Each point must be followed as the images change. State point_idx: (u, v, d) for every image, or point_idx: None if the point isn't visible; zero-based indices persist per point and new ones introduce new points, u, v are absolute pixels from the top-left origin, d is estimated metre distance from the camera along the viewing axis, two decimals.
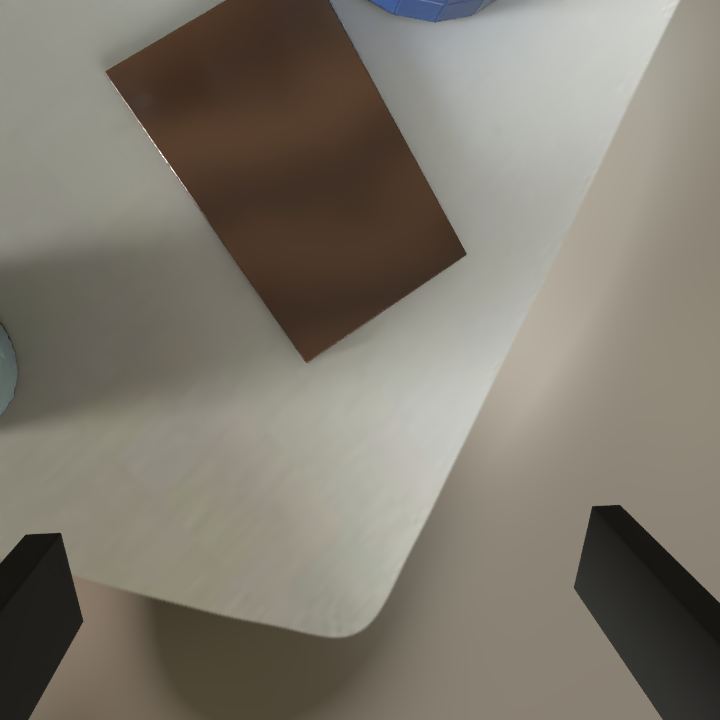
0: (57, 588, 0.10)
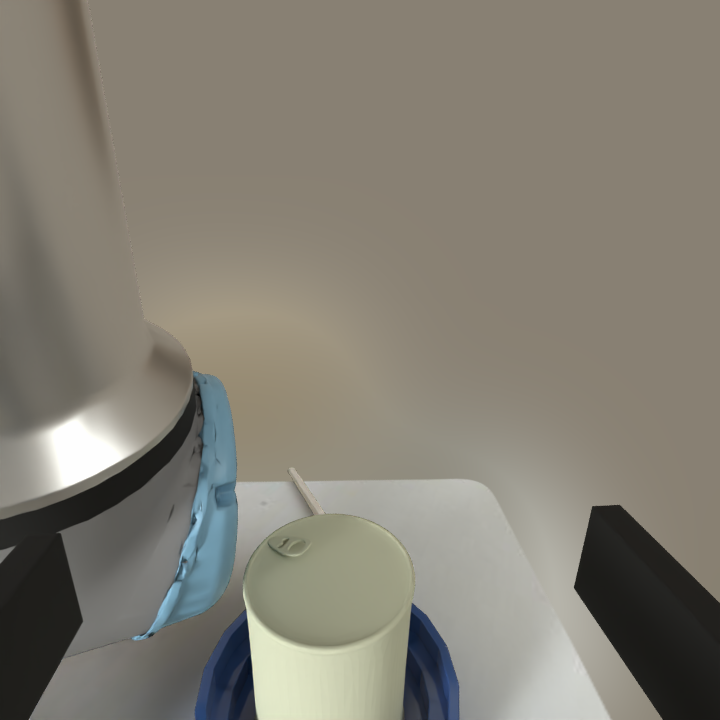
0: (57, 588, 0.10)
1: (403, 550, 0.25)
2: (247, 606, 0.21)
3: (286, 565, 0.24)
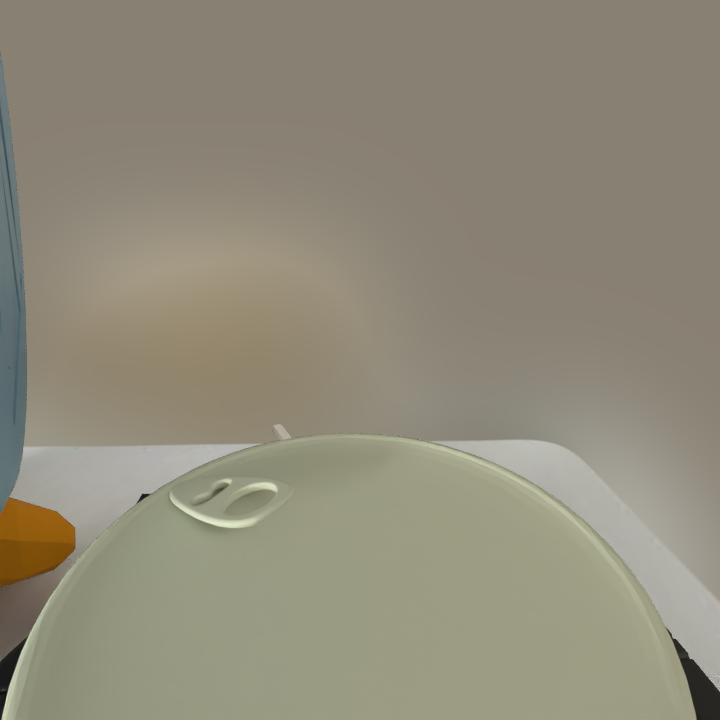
0: None
1: (566, 511, 0.08)
2: None
3: (211, 555, 0.07)
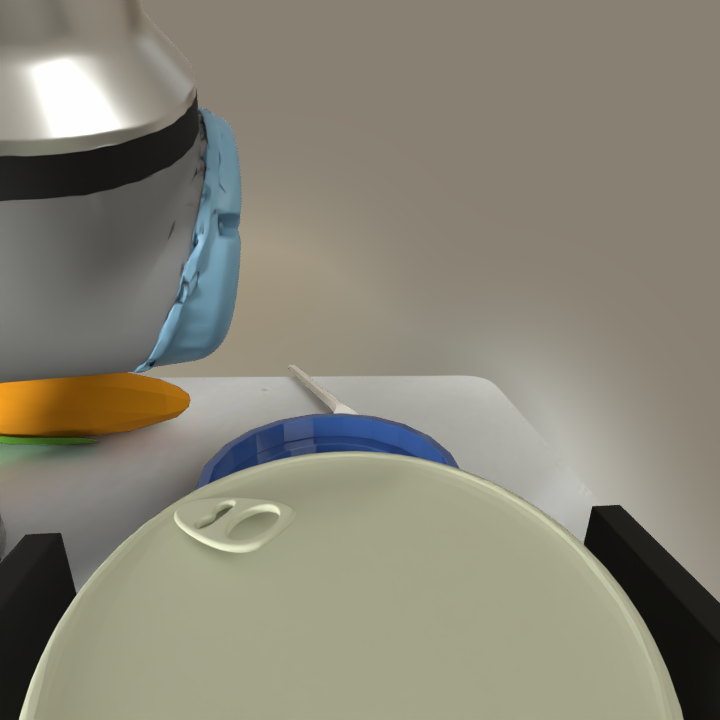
0: (57, 588, 0.10)
1: (564, 533, 0.09)
2: None
3: (215, 580, 0.08)
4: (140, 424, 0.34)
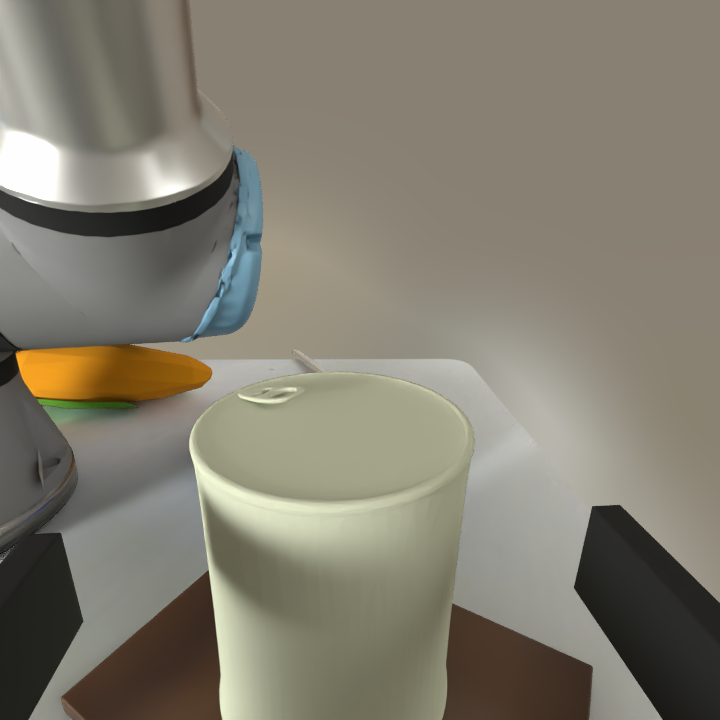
0: (57, 588, 0.10)
1: (448, 402, 0.16)
2: (193, 455, 0.12)
3: (265, 415, 0.15)
4: (171, 392, 0.42)
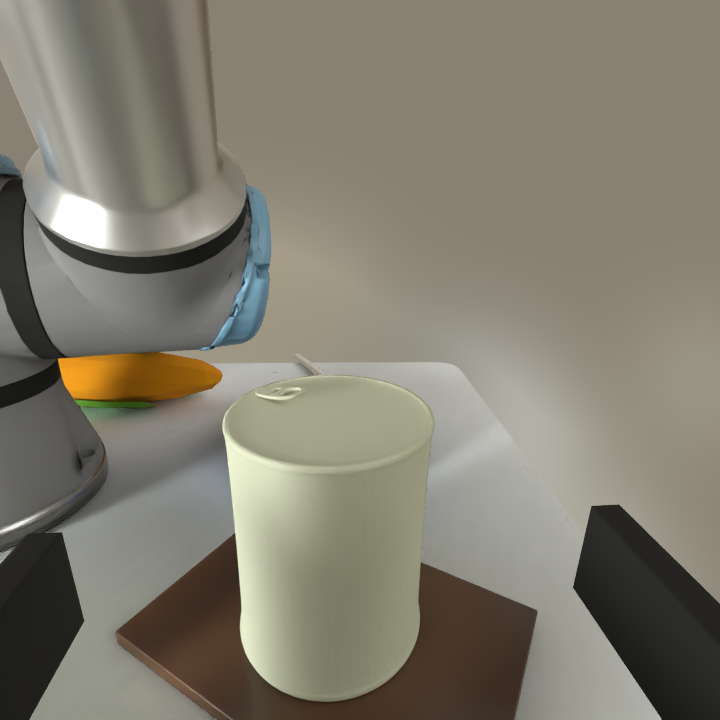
0: (58, 588, 0.10)
1: (418, 398, 0.21)
2: (226, 436, 0.17)
3: (277, 409, 0.20)
4: (186, 393, 0.47)
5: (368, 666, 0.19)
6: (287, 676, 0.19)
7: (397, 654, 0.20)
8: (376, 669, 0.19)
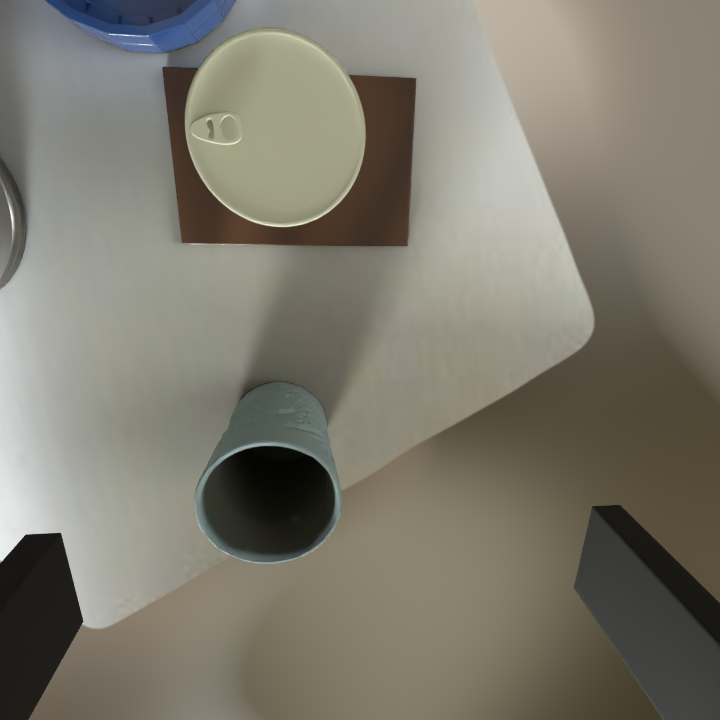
0: (57, 588, 0.10)
1: (332, 60, 0.22)
2: (238, 214, 0.24)
3: (233, 151, 0.23)
4: None
5: None
6: None
7: None
8: None
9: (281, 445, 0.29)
